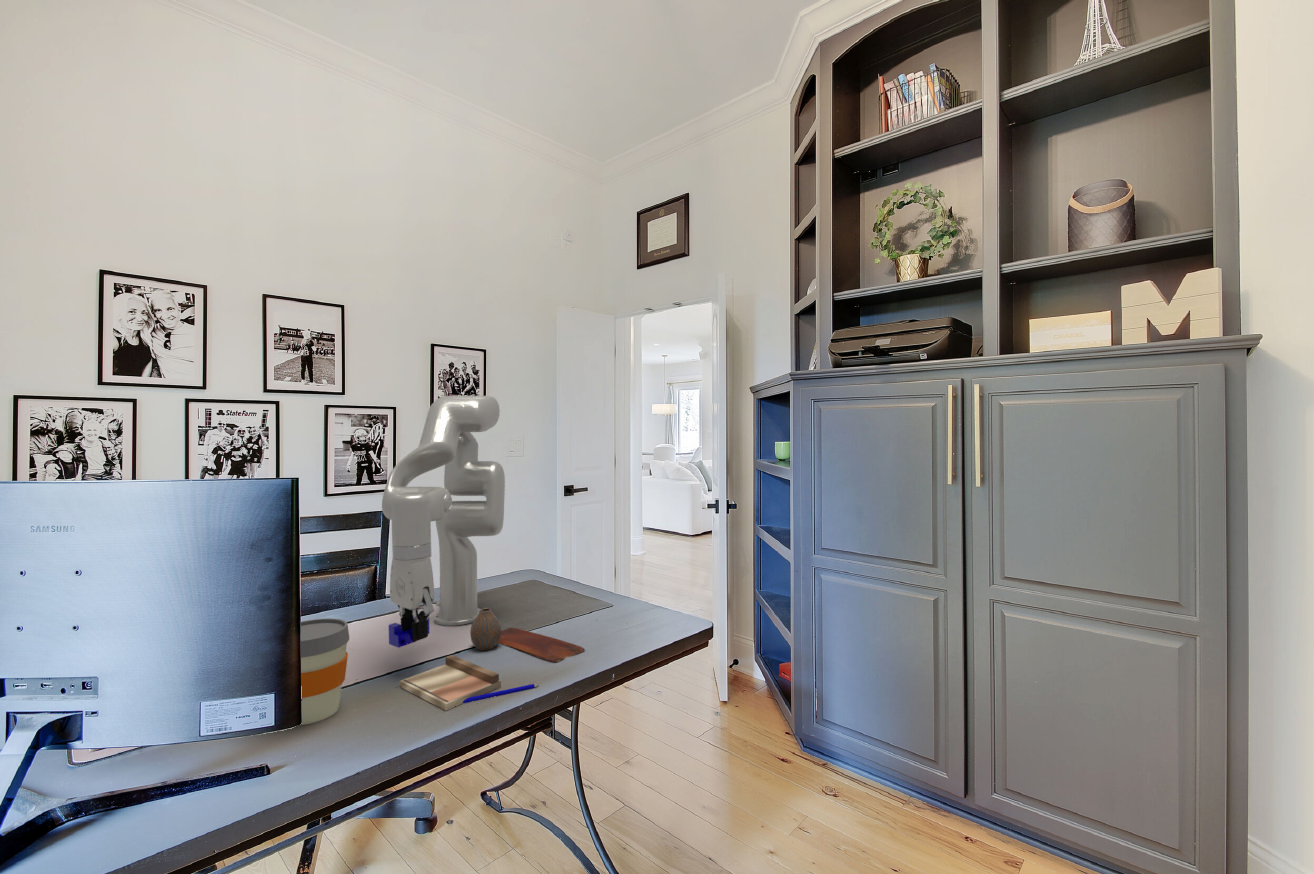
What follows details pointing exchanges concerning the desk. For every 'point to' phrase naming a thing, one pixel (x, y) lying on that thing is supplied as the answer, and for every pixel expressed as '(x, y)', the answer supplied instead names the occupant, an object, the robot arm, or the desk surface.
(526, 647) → the wooden tablet
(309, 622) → the reusable coffee cup
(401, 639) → the cable holder
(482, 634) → the vase
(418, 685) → the maple board
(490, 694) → the pencil
